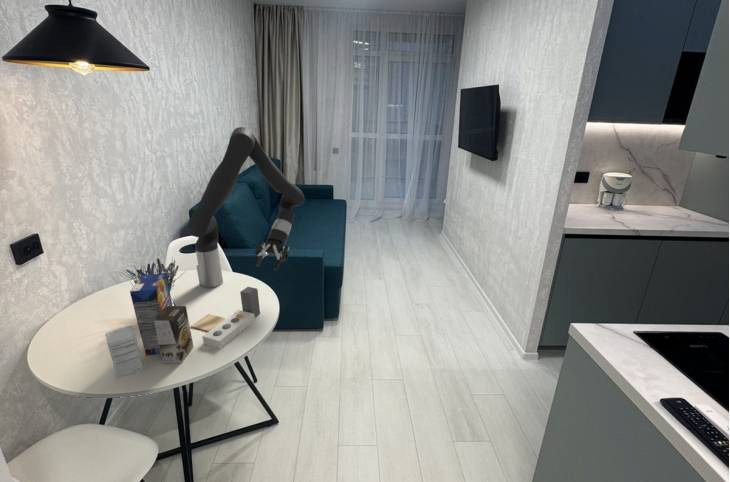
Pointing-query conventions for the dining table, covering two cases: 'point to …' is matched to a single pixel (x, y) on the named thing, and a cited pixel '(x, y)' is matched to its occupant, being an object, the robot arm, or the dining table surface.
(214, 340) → the power strip
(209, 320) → the coaster
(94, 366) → the dining table surface
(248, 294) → the block
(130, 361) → the supplement box
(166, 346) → the coffee box
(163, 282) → the cereal box
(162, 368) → the dining table surface
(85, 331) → the dining table surface
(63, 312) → the dining table surface
